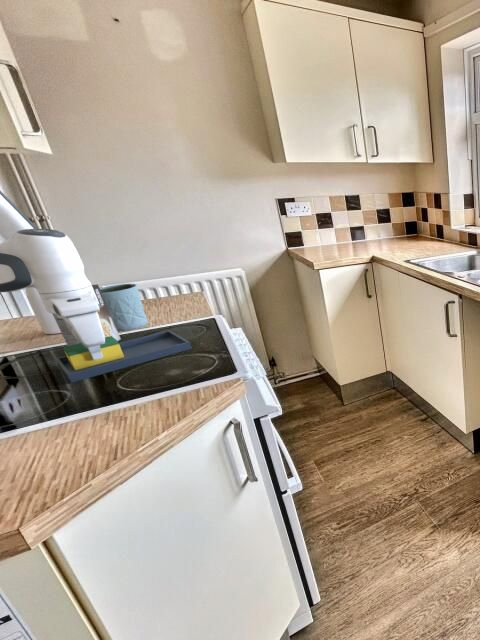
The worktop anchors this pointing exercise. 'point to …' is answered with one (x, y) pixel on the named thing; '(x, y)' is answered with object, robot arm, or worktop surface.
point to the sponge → (82, 356)
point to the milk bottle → (42, 312)
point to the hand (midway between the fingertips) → (94, 355)
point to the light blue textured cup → (124, 306)
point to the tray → (130, 355)
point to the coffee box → (105, 321)
